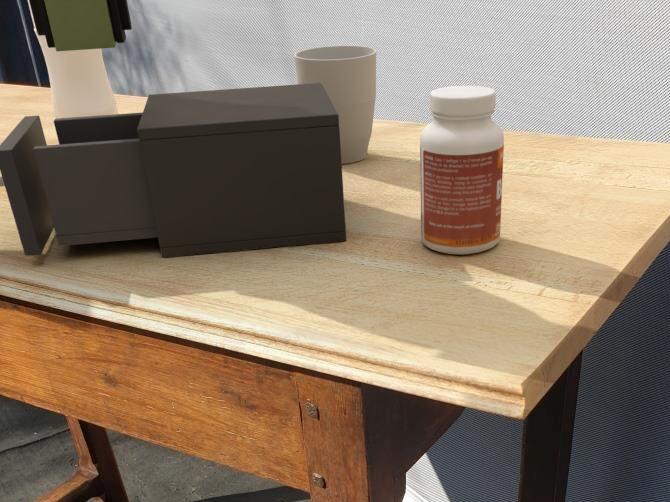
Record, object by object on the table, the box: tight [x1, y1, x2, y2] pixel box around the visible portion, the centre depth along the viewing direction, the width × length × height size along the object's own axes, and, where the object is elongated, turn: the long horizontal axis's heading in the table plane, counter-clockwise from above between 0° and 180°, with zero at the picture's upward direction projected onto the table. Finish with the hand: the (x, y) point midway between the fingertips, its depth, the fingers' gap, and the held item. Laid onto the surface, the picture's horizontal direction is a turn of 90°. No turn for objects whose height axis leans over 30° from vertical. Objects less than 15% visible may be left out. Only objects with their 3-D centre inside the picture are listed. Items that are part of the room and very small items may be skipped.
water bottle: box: [27, 0, 119, 119], centre depth 93 cm, size 7×7×25 cm
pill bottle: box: [419, 85, 505, 256], centre depth 62 cm, size 6×6×11 cm
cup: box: [293, 45, 377, 165], centre depth 85 cm, size 8×8×10 cm
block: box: [44, 0, 118, 51], centre depth 67 cm, size 5×5×5 cm
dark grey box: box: [137, 83, 347, 258], centre depth 68 cm, size 15×13×10 cm
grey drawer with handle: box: [0, 112, 158, 257], centre depth 67 cm, size 19×11×8 cm, turn 99°
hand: (87, 40), depth 68 cm, fingers closed on block, 4 cm apart
